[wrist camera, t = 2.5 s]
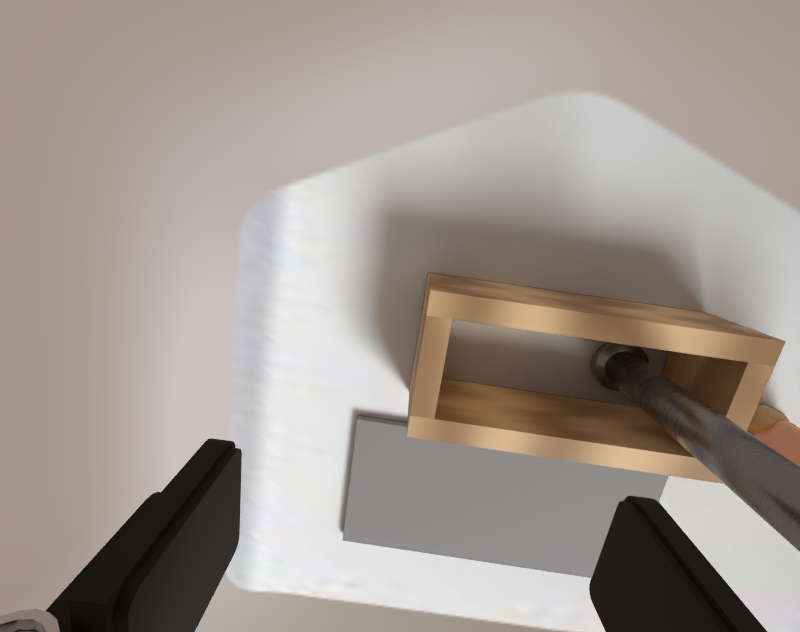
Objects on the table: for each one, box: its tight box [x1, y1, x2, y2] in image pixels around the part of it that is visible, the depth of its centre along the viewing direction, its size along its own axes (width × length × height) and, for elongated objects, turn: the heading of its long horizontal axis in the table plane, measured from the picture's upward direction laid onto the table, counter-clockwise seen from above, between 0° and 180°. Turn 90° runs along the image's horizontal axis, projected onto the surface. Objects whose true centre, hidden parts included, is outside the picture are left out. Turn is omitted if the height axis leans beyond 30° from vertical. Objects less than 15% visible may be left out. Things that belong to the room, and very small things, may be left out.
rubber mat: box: [343, 415, 669, 578], centre depth 26 cm, size 20×10×1 cm, turn 82°
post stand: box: [591, 342, 800, 551], centre depth 15 cm, size 3×3×16 cm
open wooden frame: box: [407, 273, 785, 484], centre depth 21 cm, size 16×8×5 cm, turn 82°
